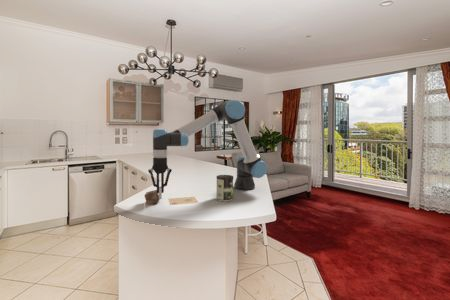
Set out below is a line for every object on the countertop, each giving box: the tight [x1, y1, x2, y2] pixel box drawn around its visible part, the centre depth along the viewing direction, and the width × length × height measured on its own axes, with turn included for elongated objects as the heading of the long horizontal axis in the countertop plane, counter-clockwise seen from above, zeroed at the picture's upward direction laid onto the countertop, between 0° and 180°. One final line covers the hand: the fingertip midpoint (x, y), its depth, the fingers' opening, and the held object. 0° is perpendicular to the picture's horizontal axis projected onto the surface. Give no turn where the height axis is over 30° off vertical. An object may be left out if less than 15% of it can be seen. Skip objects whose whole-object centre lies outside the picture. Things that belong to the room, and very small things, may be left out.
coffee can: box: [215, 174, 234, 202], centre depth 143 cm, size 10×10×14 cm
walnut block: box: [144, 189, 161, 205], centre depth 132 cm, size 6×6×6 cm
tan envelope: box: [168, 196, 199, 206], centre depth 138 cm, size 16×12×1 cm
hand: (160, 198), depth 133 cm, fingers closed
